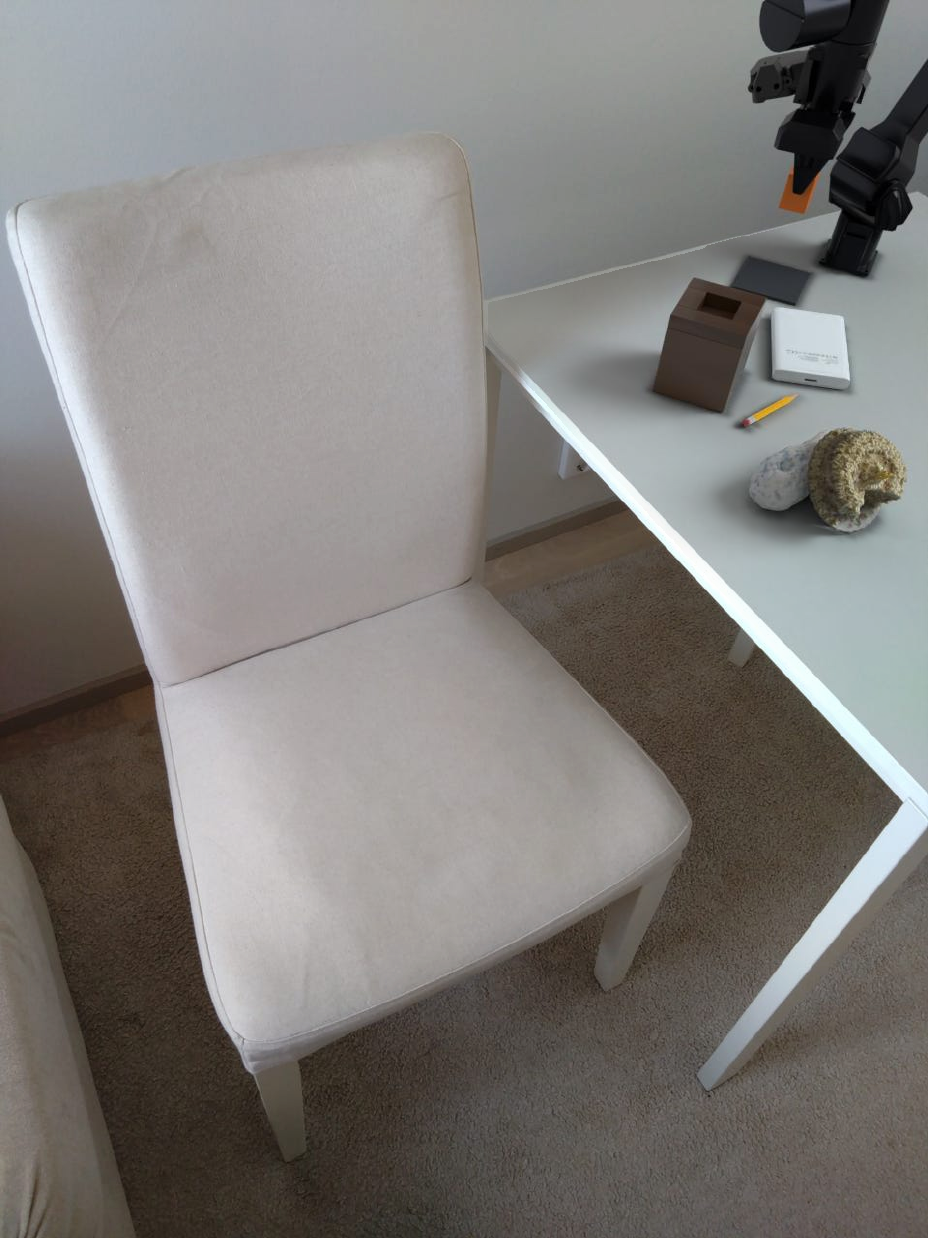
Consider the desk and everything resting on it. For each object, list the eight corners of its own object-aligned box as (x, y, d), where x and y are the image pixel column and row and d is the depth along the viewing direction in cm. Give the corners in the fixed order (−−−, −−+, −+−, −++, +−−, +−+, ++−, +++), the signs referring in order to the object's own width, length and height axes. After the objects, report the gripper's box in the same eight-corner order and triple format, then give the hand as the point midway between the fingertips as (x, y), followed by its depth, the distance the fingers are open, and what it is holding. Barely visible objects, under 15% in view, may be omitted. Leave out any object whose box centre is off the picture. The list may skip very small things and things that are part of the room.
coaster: (748, 258, 118) (749, 255, 118) (810, 274, 116) (810, 272, 116) (731, 287, 113) (732, 285, 113) (795, 305, 111) (796, 303, 111)
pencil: (741, 423, 96) (743, 418, 96) (794, 394, 100) (796, 389, 99) (747, 427, 96) (749, 422, 95) (799, 398, 99) (801, 393, 99)
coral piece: (786, 453, 85) (829, 442, 80) (859, 412, 88) (905, 399, 83) (825, 550, 86) (870, 544, 81) (896, 506, 89) (943, 498, 84)
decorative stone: (783, 536, 86) (801, 498, 82) (734, 494, 90) (748, 455, 86) (876, 485, 91) (896, 446, 87) (825, 447, 95) (843, 408, 91)
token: (784, 196, 107) (795, 162, 104) (809, 202, 107) (821, 168, 103) (778, 208, 106) (788, 173, 102) (804, 214, 105) (815, 179, 102)
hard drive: (839, 327, 109) (846, 390, 101) (769, 318, 109) (771, 379, 102) (844, 315, 107) (851, 378, 100) (773, 306, 108) (775, 367, 100)
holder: (675, 352, 104) (693, 276, 97) (743, 373, 102) (767, 297, 95) (652, 390, 100) (670, 314, 92) (722, 413, 98) (746, 336, 90)
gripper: (791, -9, 100) (752, 139, 112) (746, 50, 89) (709, 206, 101) (895, 10, 97) (843, 159, 109) (861, 73, 86) (809, 230, 98)
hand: (800, 187), depth 104 cm, fingers closed on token, 3 cm apart
